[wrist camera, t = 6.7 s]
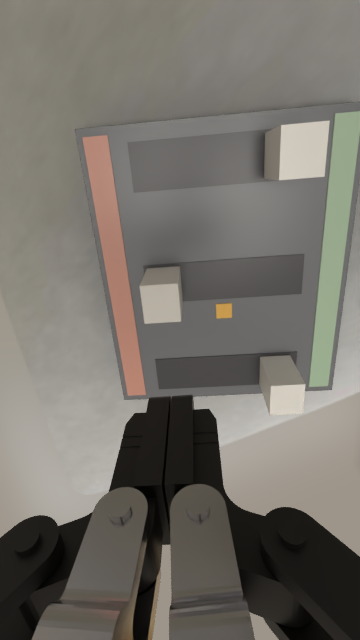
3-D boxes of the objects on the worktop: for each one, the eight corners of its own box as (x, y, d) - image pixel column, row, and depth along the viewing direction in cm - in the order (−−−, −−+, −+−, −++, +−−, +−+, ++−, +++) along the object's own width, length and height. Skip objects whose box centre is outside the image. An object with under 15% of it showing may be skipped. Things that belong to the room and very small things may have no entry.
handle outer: (260, 356, 27) (270, 385, 23) (289, 355, 27) (305, 384, 23) (259, 383, 28) (269, 415, 24) (288, 381, 28) (302, 413, 24)
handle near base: (265, 133, 20) (281, 124, 17) (304, 129, 20) (329, 120, 17) (263, 178, 22) (279, 180, 18) (301, 175, 21) (324, 176, 18)
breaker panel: (86, 133, 23) (74, 128, 21) (351, 107, 22) (370, 100, 20) (129, 383, 32) (124, 400, 29) (321, 373, 31) (332, 390, 28)
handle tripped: (147, 268, 24) (139, 285, 21) (179, 266, 24) (177, 283, 20) (151, 301, 25) (144, 323, 22) (182, 299, 25) (181, 321, 21)
